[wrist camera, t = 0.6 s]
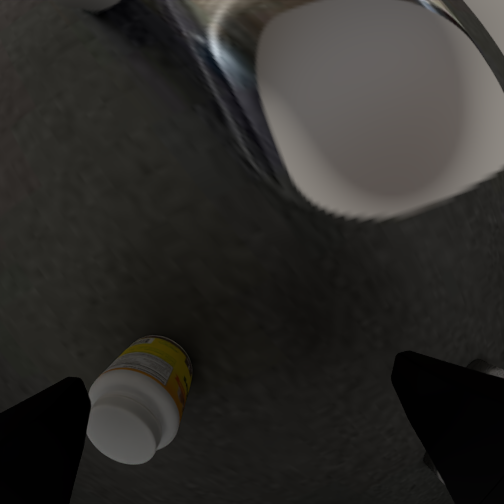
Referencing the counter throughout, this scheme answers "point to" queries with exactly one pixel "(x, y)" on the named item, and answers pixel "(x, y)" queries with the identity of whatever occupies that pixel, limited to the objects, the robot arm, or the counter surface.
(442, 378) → the robot arm
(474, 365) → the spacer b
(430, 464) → the spacer
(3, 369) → the counter surface
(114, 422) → the supplement bottle
